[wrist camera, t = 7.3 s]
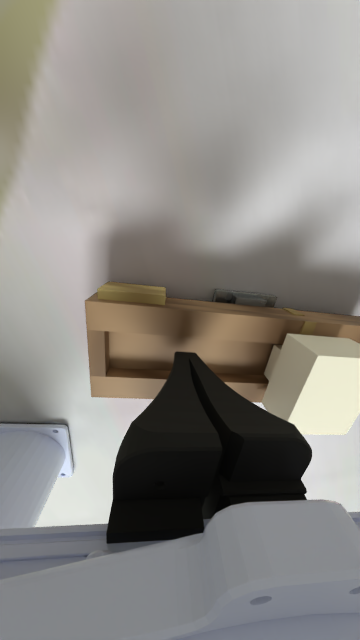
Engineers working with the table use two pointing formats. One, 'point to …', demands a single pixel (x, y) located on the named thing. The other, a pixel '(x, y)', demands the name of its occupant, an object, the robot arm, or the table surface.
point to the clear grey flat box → (244, 298)
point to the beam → (189, 339)
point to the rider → (314, 383)
